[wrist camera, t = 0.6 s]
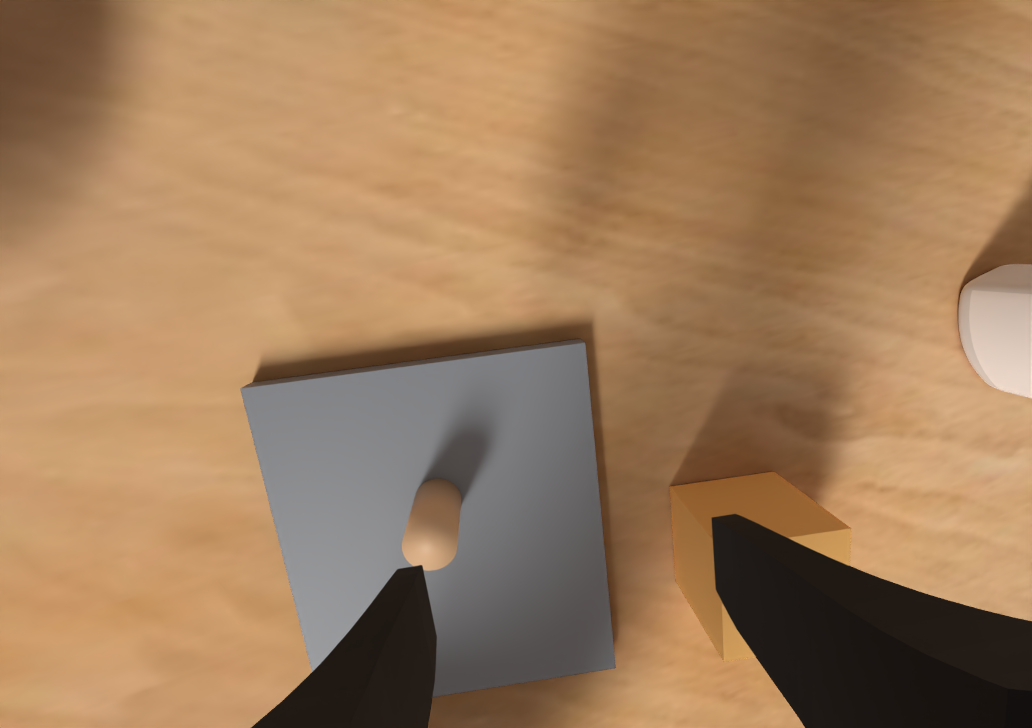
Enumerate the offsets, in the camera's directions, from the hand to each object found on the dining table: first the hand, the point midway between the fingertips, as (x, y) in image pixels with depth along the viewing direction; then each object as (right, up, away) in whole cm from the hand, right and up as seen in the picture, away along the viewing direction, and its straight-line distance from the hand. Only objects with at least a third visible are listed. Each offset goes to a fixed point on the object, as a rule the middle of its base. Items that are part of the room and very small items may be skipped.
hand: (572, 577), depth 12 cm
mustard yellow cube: (+9, -3, +12) cm, 15 cm away
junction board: (-5, -2, +11) cm, 12 cm away
